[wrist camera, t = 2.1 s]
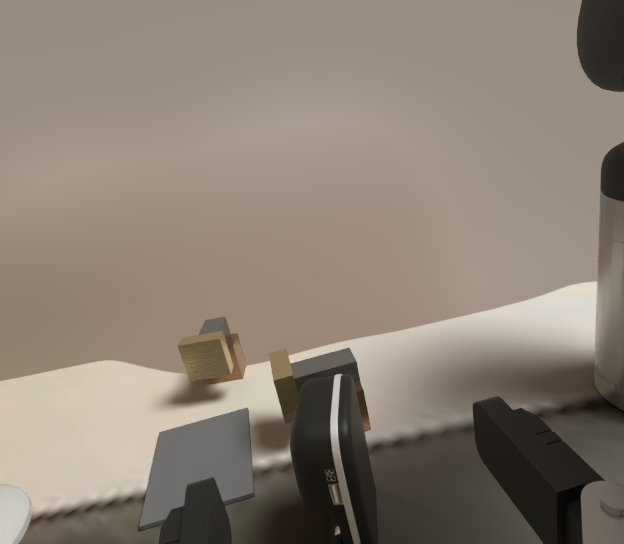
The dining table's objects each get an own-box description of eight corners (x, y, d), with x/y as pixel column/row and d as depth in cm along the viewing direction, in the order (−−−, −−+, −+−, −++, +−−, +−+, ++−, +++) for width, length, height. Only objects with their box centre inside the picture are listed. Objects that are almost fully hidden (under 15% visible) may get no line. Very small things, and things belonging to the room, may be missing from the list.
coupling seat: (248, 410, 45) (247, 407, 45) (254, 496, 35) (253, 492, 35) (160, 435, 45) (159, 432, 44) (140, 530, 34) (138, 526, 34)
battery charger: (327, 491, 34) (295, 367, 30) (376, 488, 34) (351, 361, 30) (319, 584, 28) (278, 443, 24) (380, 583, 27) (348, 437, 23)
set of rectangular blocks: (230, 358, 56) (213, 304, 53) (385, 411, 41) (373, 340, 38) (176, 396, 51) (154, 337, 48) (333, 473, 36) (315, 395, 33)
